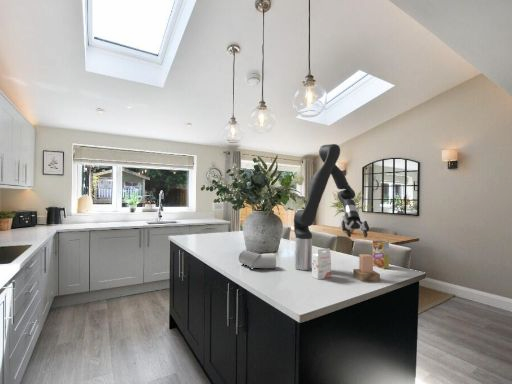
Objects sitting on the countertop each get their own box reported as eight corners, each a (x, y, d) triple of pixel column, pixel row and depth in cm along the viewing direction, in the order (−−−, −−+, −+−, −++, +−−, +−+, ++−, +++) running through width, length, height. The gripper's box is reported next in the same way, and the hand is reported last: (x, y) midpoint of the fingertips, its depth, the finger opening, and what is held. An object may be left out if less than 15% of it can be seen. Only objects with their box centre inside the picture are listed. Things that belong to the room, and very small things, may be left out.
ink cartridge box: (324, 274, 137) (324, 246, 137) (331, 277, 132) (331, 248, 133) (311, 276, 133) (311, 247, 133) (318, 279, 128) (318, 249, 129)
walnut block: (362, 282, 126) (362, 274, 126) (353, 276, 135) (353, 269, 135) (379, 282, 127) (379, 273, 127) (369, 276, 136) (370, 268, 136)
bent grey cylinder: (240, 269, 140) (276, 269, 142) (240, 249, 142) (276, 249, 145) (238, 268, 157) (271, 267, 159) (238, 250, 159) (270, 250, 162)
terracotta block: (362, 272, 129) (362, 256, 129) (359, 269, 134) (359, 253, 134) (372, 272, 129) (373, 256, 129) (369, 270, 134) (369, 254, 134)
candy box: (372, 265, 158) (372, 239, 158) (377, 264, 159) (377, 239, 159) (383, 269, 149) (383, 242, 150) (389, 268, 151) (389, 242, 151)
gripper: (340, 209, 153) (346, 232, 142) (365, 210, 152) (373, 232, 141) (338, 218, 158) (343, 240, 147) (362, 218, 158) (369, 240, 146)
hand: (357, 236), depth 144 cm, fingers open, 8 cm apart
